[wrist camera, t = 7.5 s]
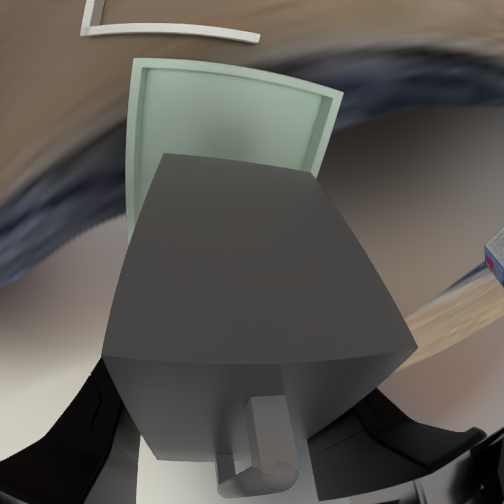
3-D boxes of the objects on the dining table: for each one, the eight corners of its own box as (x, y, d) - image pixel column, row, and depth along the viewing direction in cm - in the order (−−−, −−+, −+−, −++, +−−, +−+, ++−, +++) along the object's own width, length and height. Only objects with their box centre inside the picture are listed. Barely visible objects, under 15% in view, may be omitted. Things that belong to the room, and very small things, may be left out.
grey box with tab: (161, 325, 14) (159, 497, 7) (163, 153, 8) (87, 486, 2) (255, 329, 15) (284, 491, 8) (311, 172, 10) (453, 430, 3)
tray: (136, 262, 21) (131, 280, 20) (142, 57, 12) (133, 58, 11) (271, 272, 24) (276, 290, 22) (330, 87, 15) (343, 92, 13)
